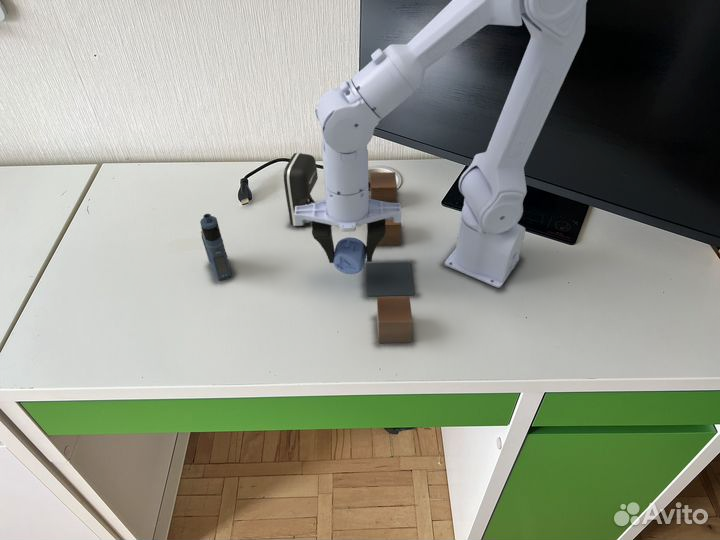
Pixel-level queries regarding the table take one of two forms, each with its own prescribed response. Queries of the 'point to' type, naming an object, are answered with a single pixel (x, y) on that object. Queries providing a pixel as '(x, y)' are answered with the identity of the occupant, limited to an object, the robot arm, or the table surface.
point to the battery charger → (299, 182)
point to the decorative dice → (350, 255)
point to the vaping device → (215, 247)
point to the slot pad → (389, 279)
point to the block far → (383, 187)
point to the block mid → (391, 234)
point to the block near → (394, 319)
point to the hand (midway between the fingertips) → (350, 257)
